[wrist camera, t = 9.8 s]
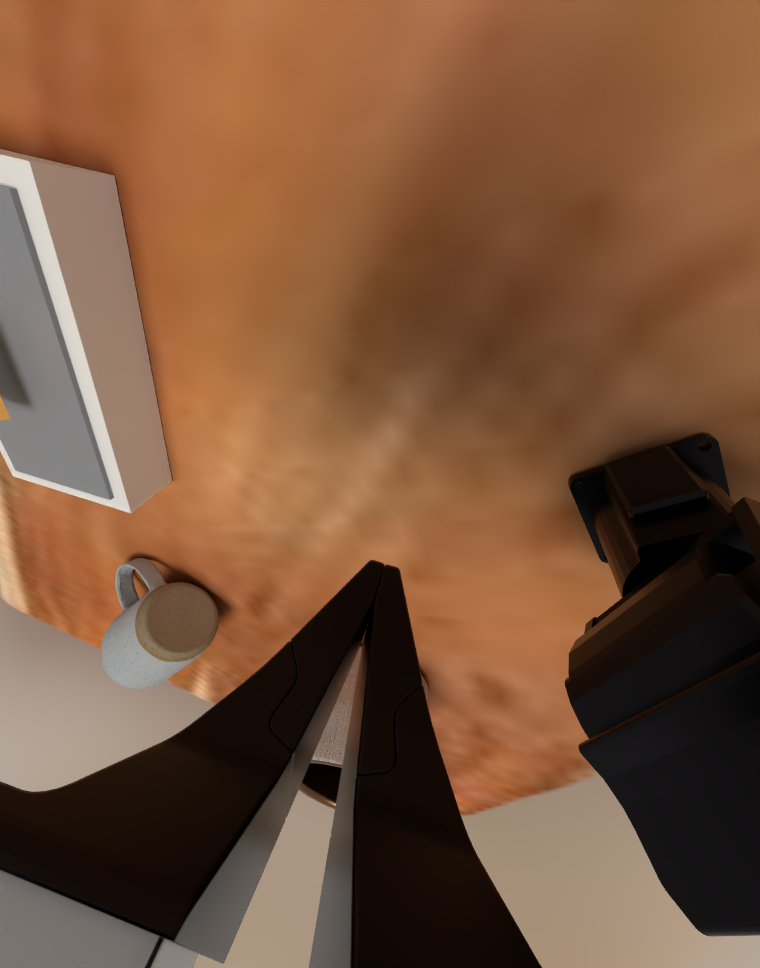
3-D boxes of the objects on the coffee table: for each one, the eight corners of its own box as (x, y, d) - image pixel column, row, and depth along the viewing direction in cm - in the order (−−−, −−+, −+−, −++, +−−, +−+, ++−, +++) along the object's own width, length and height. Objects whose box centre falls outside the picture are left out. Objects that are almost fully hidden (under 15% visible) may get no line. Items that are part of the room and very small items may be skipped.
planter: (303, 644, 36) (254, 754, 29) (401, 635, 32) (375, 763, 24) (354, 704, 41) (324, 814, 33) (446, 704, 36) (436, 830, 29)
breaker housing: (114, 175, 17) (21, 159, 14) (172, 481, 28) (127, 516, 24) (-51, 137, 18) (-179, 113, 14) (66, 449, 28) (8, 478, 25)
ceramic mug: (239, 608, 35) (186, 686, 29) (203, 633, 40) (150, 706, 33) (146, 538, 33) (66, 606, 27) (118, 572, 37) (44, 638, 31)
